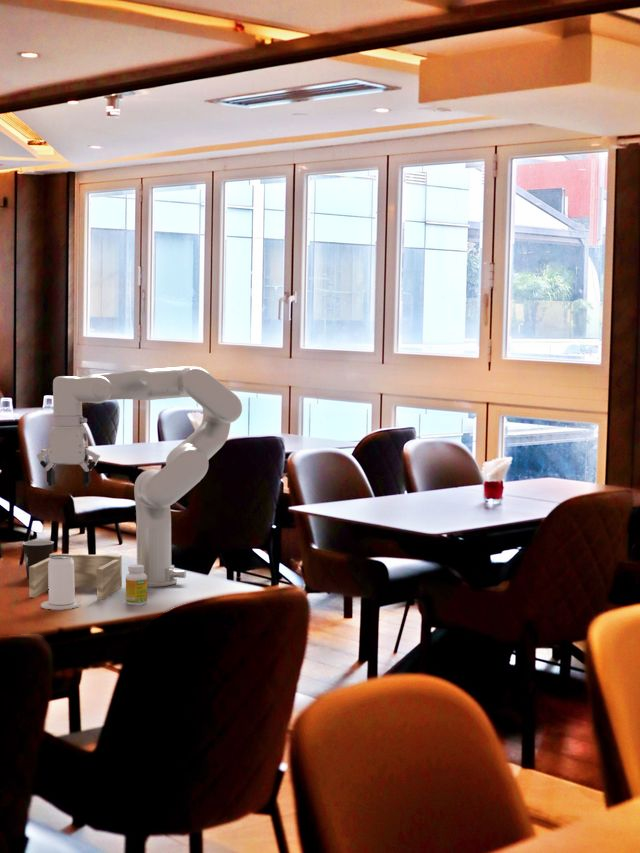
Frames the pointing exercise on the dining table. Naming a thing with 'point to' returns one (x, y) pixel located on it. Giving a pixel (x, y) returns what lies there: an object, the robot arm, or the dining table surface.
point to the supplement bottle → (136, 585)
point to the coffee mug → (36, 552)
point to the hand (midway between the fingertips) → (68, 485)
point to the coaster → (48, 606)
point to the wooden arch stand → (82, 574)
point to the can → (61, 580)
